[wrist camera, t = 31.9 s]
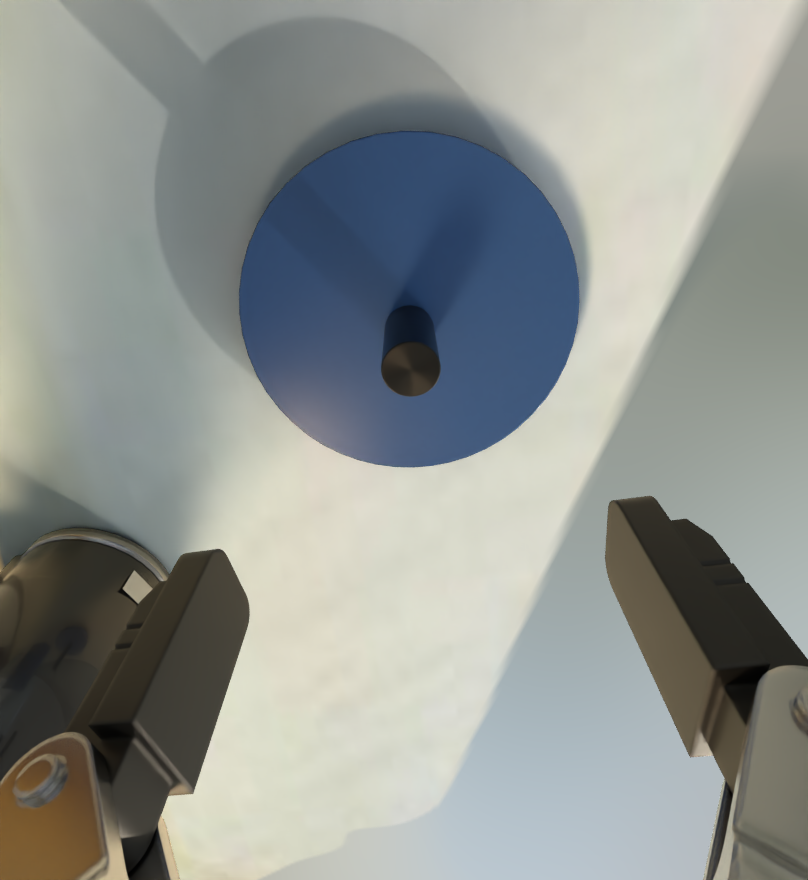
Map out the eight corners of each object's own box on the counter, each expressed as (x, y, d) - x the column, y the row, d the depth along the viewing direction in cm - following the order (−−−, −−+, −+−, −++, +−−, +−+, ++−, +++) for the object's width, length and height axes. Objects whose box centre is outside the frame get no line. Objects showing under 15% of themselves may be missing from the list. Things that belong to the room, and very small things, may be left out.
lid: (297, 473, 28) (275, 545, 23) (193, 170, 20) (123, 180, 15) (570, 435, 27) (609, 502, 22) (575, 95, 19) (637, 77, 14)
